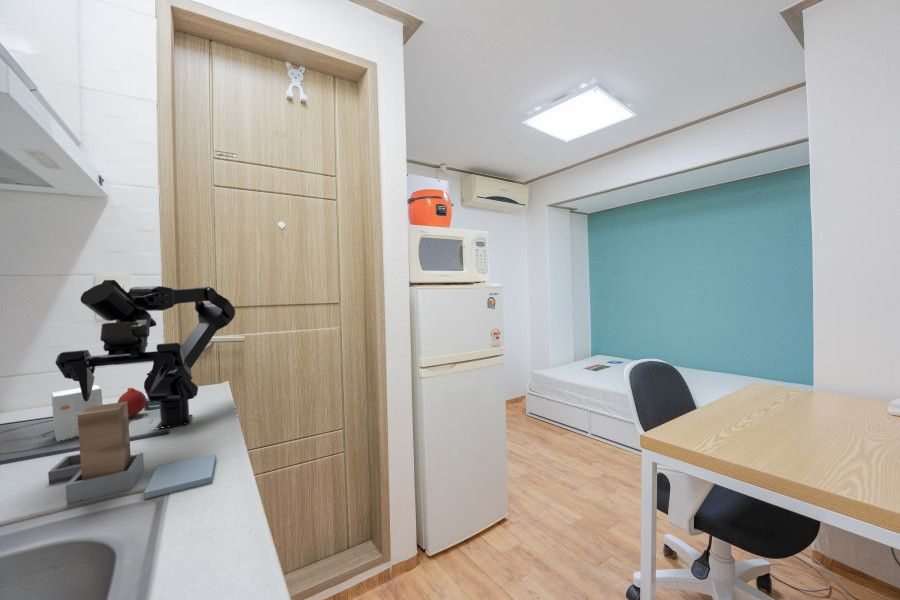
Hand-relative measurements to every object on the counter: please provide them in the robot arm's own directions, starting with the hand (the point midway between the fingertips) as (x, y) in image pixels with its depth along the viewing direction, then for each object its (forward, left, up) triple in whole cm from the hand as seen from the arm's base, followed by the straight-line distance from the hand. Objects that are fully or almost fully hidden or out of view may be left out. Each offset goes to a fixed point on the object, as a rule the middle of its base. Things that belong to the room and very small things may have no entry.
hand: (118, 395), depth 68 cm
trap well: (-2, -6, -13) cm, 15 cm away
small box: (-27, -14, -14) cm, 33 cm away
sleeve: (+8, 0, -13) cm, 16 cm away
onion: (-35, -6, -14) cm, 38 cm away
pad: (+12, +11, -13) cm, 21 cm away
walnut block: (+8, 0, -14) cm, 16 cm away
